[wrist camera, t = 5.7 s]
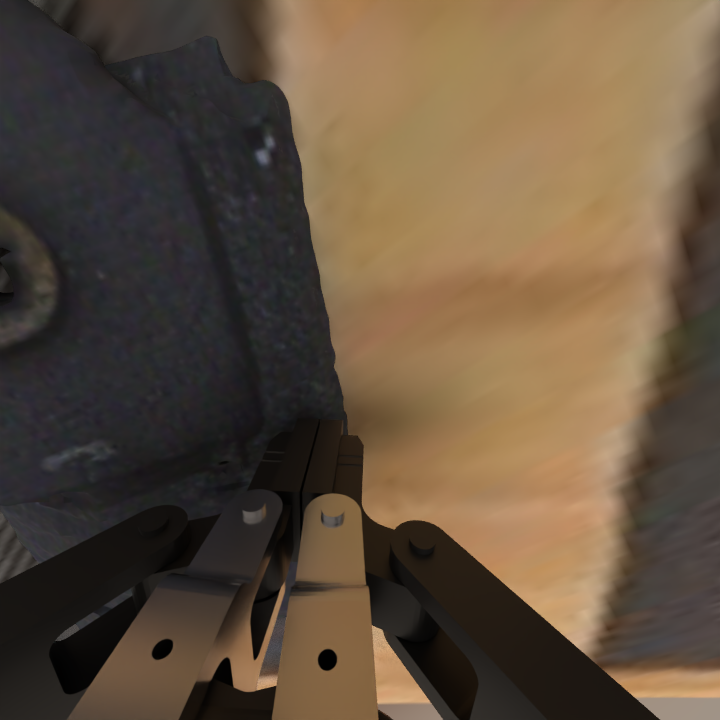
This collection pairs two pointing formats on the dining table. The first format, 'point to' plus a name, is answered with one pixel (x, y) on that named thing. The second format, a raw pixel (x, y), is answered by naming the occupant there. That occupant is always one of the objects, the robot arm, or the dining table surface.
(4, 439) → the black pouch
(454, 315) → the dining table surface
